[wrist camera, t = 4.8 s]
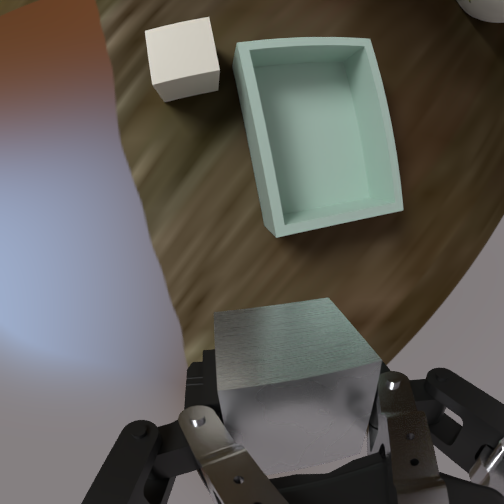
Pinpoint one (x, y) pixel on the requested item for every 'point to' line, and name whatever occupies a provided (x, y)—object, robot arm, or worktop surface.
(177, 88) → the cream box
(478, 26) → the worktop surface
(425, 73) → the worktop surface
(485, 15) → the pitcher
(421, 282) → the worktop surface
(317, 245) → the worktop surface
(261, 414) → the steel block
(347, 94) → the tote
